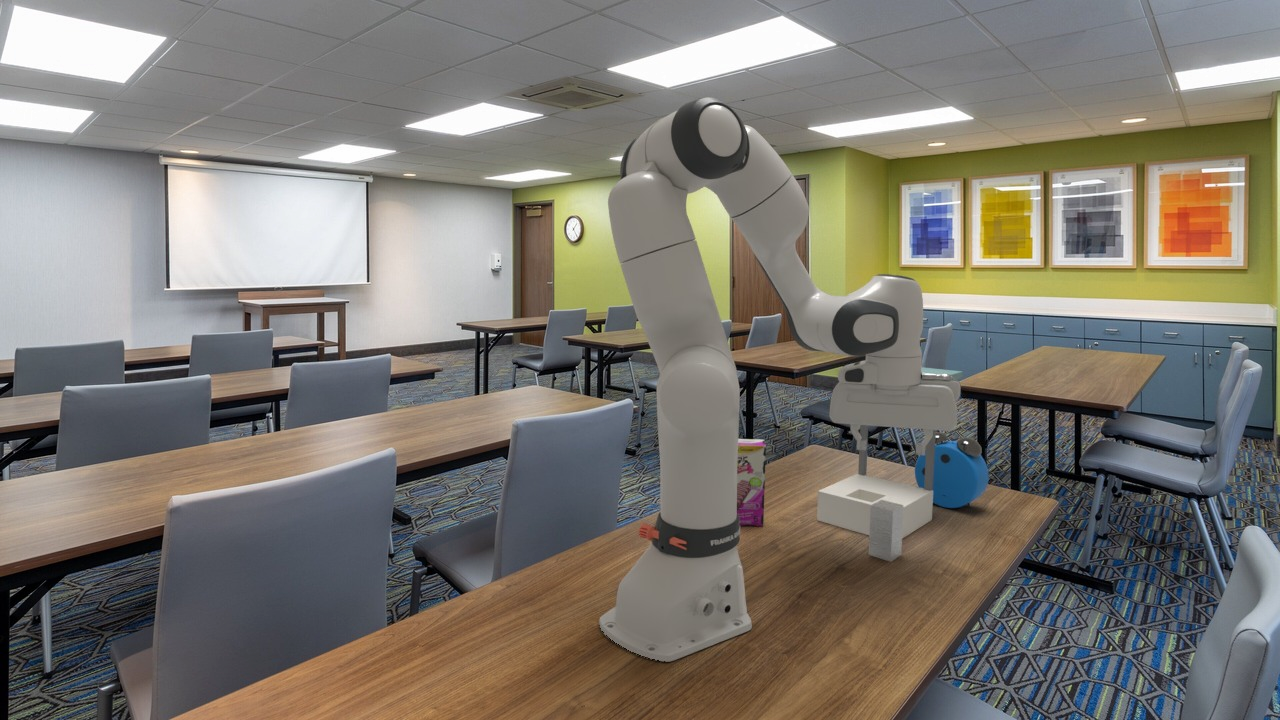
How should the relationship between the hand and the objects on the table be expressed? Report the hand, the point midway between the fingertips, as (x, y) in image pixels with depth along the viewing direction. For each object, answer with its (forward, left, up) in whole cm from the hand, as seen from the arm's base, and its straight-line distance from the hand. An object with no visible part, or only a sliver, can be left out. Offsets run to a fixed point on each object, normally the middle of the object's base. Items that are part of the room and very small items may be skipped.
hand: (890, 451), depth 117 cm
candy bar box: (-6, +28, -19) cm, 34 cm away
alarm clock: (+33, +2, -19) cm, 38 cm away
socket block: (+17, +9, -18) cm, 27 cm away
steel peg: (0, 0, -18) cm, 18 cm away
